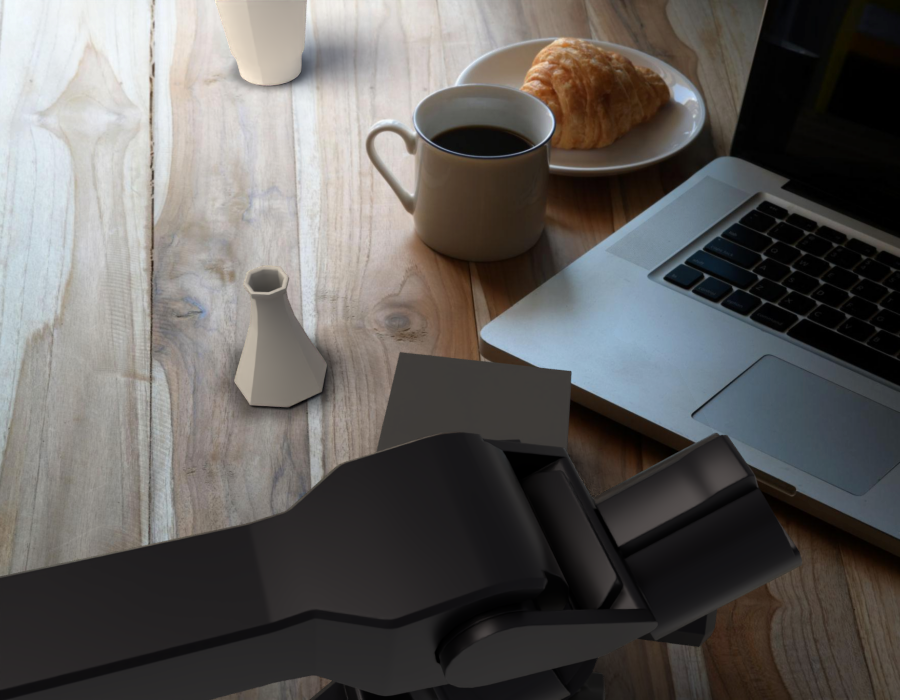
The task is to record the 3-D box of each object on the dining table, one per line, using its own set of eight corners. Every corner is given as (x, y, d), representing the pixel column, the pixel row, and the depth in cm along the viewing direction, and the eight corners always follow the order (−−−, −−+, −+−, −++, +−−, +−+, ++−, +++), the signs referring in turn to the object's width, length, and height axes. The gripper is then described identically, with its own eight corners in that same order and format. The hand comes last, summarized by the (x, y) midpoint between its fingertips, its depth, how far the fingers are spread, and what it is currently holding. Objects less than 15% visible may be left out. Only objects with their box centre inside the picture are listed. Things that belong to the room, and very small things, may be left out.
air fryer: (549, 591, 60) (563, 516, 54) (372, 568, 61) (366, 492, 55) (558, 450, 68) (571, 370, 62) (401, 431, 69) (399, 351, 63)
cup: (332, 47, 108) (322, -96, 97) (311, 101, 100) (297, -48, 89) (232, 40, 109) (210, -103, 98) (203, 93, 101) (175, -56, 89)
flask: (240, 418, 70) (219, 323, 62) (229, 350, 74) (208, 254, 67) (335, 400, 71) (326, 305, 64) (319, 335, 76) (308, 239, 69)
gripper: (284, 757, 40) (352, 636, 55) (728, 821, 38) (669, 679, 54) (310, 499, 39) (371, 451, 55) (759, 553, 38) (691, 488, 54)
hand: (523, 521), depth 54 cm, fingers closed, pressing on air fryer, fryer drawer
